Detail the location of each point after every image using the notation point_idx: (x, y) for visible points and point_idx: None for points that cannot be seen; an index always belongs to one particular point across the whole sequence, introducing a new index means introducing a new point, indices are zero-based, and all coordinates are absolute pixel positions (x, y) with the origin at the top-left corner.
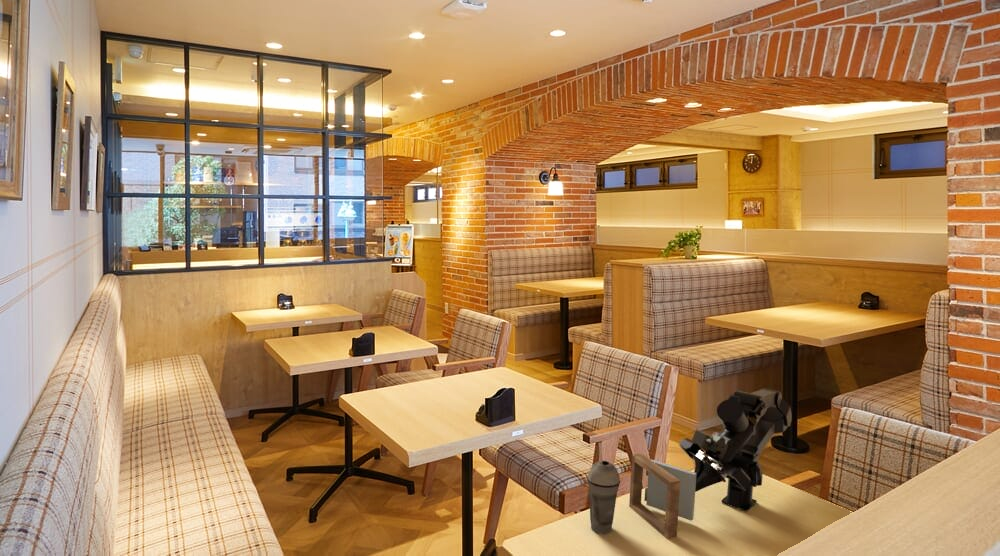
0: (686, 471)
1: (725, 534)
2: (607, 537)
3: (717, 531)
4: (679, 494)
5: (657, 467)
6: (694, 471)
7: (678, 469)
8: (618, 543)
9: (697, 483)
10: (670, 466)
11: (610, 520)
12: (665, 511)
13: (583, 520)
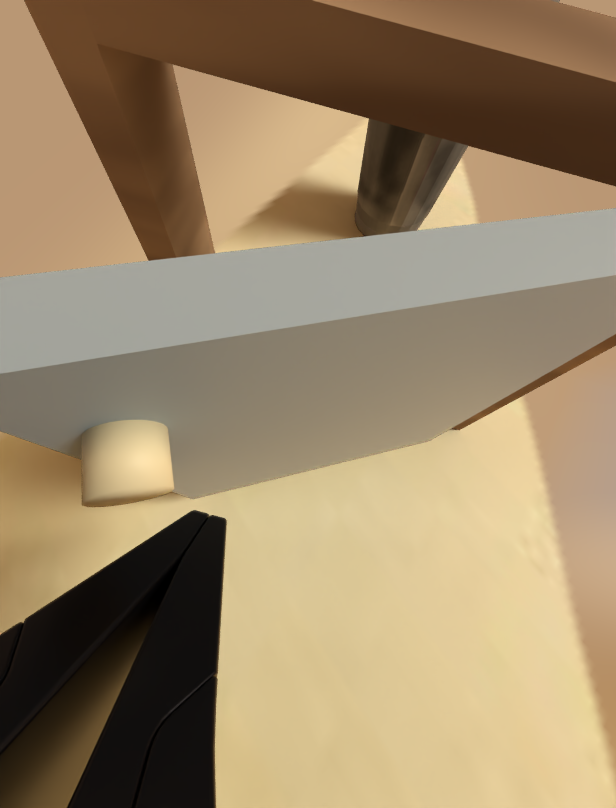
0: (130, 299)
1: (20, 558)
2: (339, 203)
3: (69, 547)
4: (93, 144)
5: (434, 9)
6: (209, 762)
7: (284, 260)
8: (297, 202)
9: (110, 567)
10: (442, 259)
11: (361, 172)
12: (210, 233)
13: (448, 219)
